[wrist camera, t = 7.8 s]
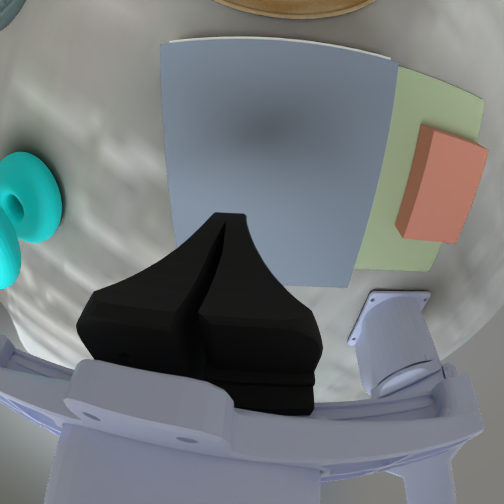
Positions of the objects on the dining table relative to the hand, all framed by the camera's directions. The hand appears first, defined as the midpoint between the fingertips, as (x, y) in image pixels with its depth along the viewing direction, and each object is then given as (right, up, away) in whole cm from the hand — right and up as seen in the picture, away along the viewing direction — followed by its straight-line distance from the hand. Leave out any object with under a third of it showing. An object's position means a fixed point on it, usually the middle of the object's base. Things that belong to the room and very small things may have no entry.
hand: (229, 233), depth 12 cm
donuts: (-21, +6, +10) cm, 24 cm away
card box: (+16, +4, +6) cm, 17 cm away
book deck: (+3, +6, +8) cm, 10 cm away
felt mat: (+15, +5, +8) cm, 17 cm away
